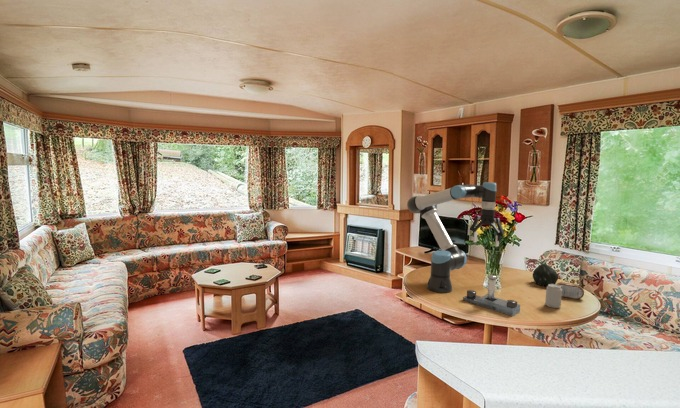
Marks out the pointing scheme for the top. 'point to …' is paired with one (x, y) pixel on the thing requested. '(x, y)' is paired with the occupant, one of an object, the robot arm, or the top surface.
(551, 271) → the squash
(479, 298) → the plate with dome knobs
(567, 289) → the tin
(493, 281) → the steel pin
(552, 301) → the can
